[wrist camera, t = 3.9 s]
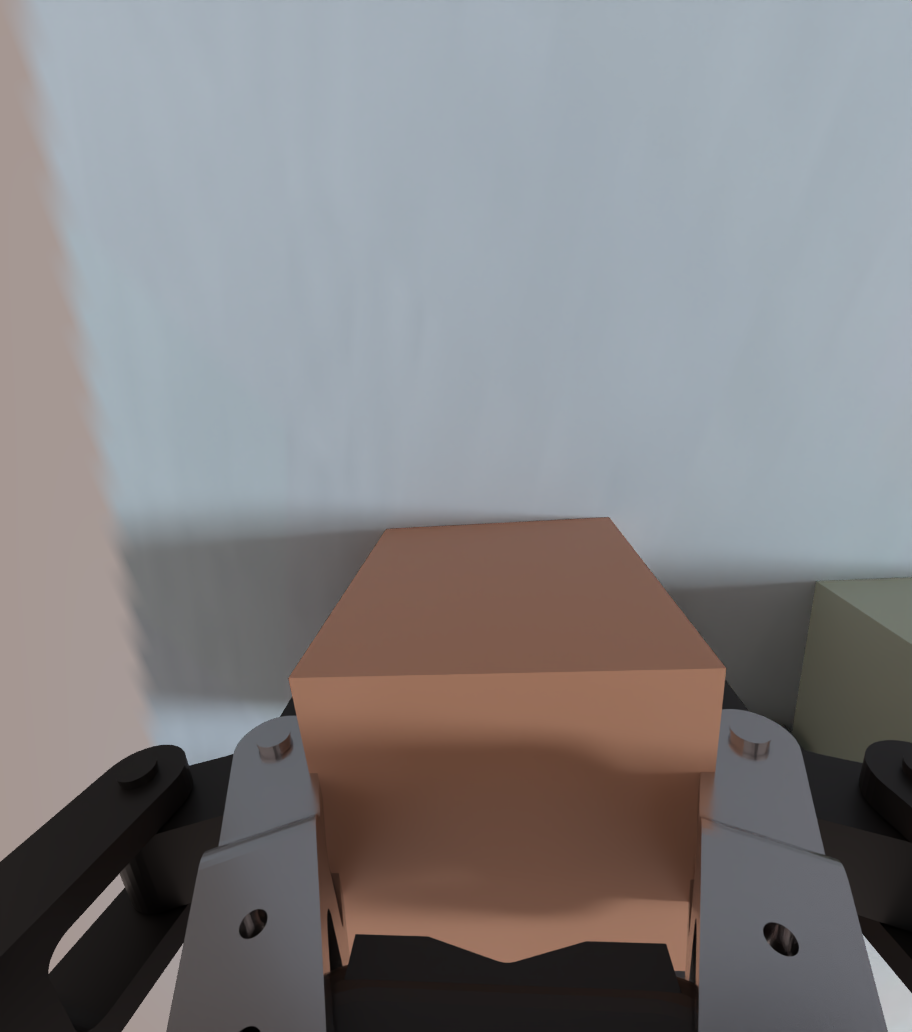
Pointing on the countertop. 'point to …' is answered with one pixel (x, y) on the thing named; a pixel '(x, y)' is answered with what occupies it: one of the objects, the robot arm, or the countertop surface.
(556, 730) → the brick terracotta
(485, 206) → the countertop surface
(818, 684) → the brick sage
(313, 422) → the countertop surface
